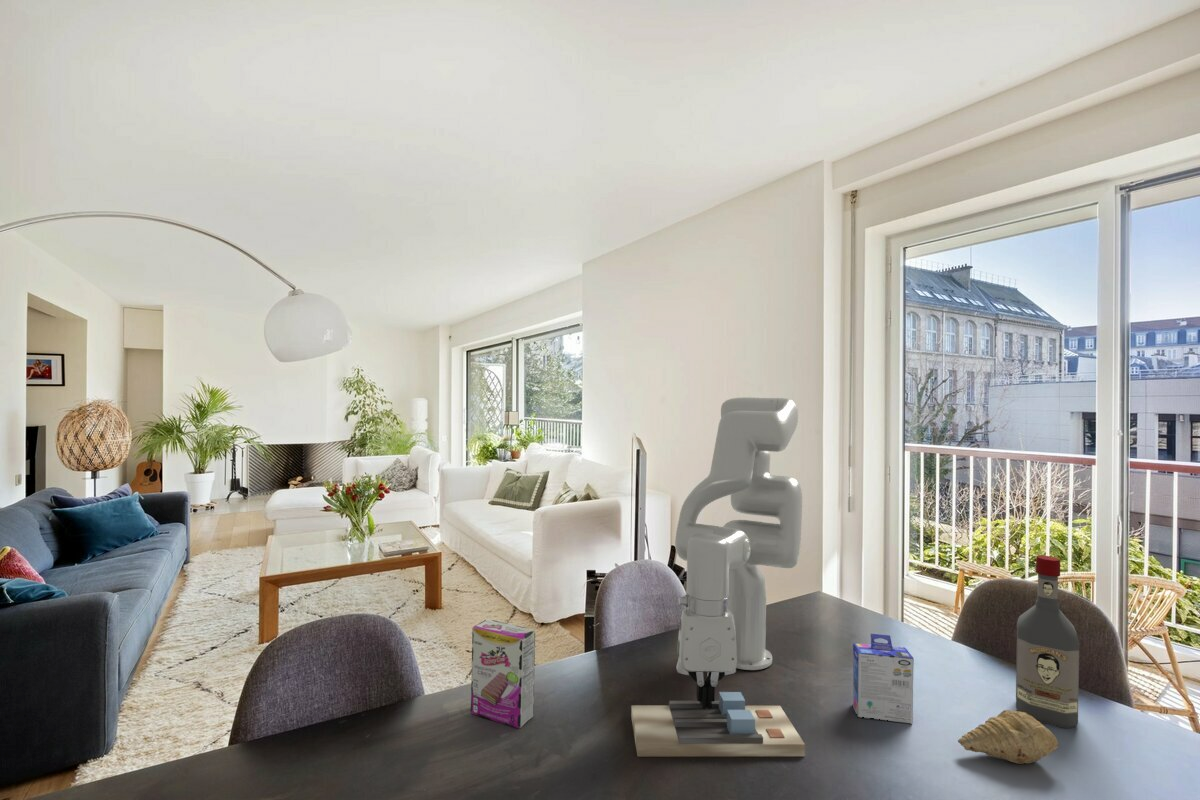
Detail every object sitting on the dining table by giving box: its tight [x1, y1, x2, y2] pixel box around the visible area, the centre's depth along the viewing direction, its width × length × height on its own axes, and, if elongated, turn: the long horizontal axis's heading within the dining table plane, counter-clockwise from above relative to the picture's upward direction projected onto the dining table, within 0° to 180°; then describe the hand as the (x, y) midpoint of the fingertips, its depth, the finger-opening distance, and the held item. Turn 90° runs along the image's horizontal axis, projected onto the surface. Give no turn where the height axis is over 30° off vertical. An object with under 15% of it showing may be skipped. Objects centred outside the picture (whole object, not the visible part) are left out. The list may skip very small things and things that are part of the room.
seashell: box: [957, 709, 1059, 765], centre depth 95 cm, size 14×8×8 cm, turn 93°
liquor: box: [1015, 554, 1080, 729], centre depth 109 cm, size 9×9×30 cm
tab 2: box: [727, 710, 755, 734], centre depth 97 cm, size 3×4×3 cm
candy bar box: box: [470, 618, 536, 729], centre depth 105 cm, size 11×5×16 cm, turn 65°
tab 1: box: [718, 691, 746, 714], centre depth 103 cm, size 3×4×3 cm
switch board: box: [630, 700, 806, 757], centre depth 100 cm, size 12×28×3 cm, turn 92°
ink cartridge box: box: [852, 633, 915, 724], centre depth 108 cm, size 10×6×14 cm, turn 78°
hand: (705, 704), depth 103 cm, fingers closed
